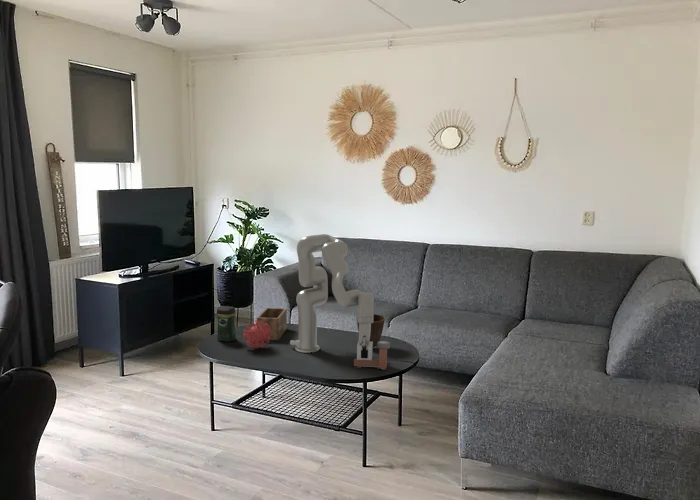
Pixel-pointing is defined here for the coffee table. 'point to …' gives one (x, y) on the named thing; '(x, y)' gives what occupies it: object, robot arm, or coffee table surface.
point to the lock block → (369, 348)
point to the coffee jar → (226, 323)
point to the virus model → (257, 334)
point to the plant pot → (375, 328)
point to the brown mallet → (376, 362)
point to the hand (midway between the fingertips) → (364, 355)
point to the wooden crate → (274, 321)
